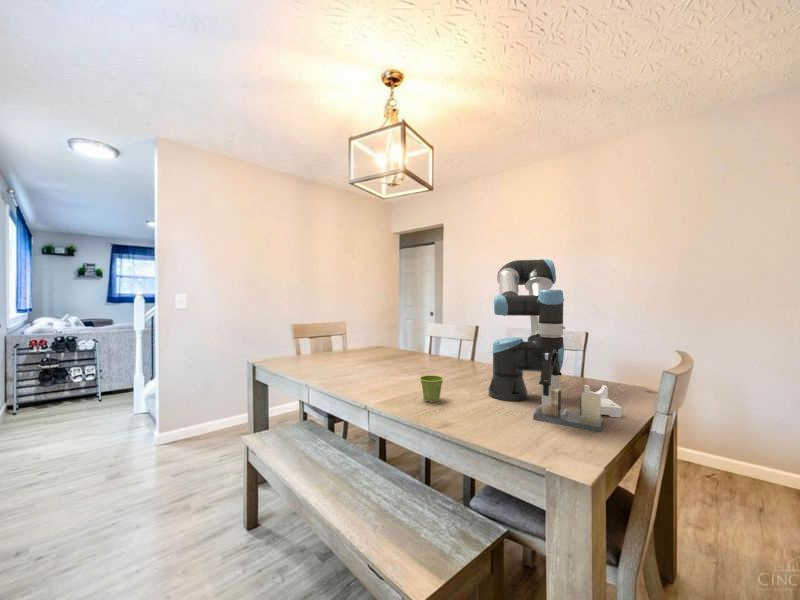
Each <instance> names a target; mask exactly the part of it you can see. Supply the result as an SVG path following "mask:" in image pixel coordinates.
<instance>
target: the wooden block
mask: <svg viewBox="0 0 800 600" xmlns="http://www.w3.org/2000/svg"><path fill="white" fill-rule="evenodd" d="M540 392H541V403H542V388H541V391H540ZM541 405H542V404H541ZM560 410H562V390H561V388H559V389H558V388H551V406H547V405H542V413H543V414H548V415H554V416H558V415H559V414H560Z"/></svg>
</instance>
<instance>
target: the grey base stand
mask: <svg viewBox="0 0 800 600" xmlns="http://www.w3.org/2000/svg"><path fill="white" fill-rule="evenodd" d="M532 420H534V421H540V422H544V421H545V422H546V423H549V422H550V423H551V424H555V425H561V426H566V427H569V428H570V427H571V428H577V429H582V430H586V431H591V432H596V433H597V432H598V433H601V430H602V427H603V422H604V419H603V416H602V414H601V394H594V393H587V392H584V391H582V393H580V396H579V412H574V411H570V410H568V409H567V408H564V409H561V410H560V414H559V415H558V416H554V415H548V414H543V413H542V404H538V406H537V408H536V409H535V412H534V413H533V414H532Z"/></svg>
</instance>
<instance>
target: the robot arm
mask: <svg viewBox="0 0 800 600" xmlns="http://www.w3.org/2000/svg"><path fill="white" fill-rule="evenodd" d="M496 277H497V278H496V280H497V283H498V284H499V287H498V289H499V294H498V295H495V296H494V297H493V313H494V314H495V315H496V316H503V317H506V316H509V317H510V316H512V317H513V316H515V317H516V316H521V317H522V316H525V317H526V316H527V317H528V316H529V319H530V332H531V333H530V336H528V337H527V341H524V339H523V337H517V336H516V337H504V338H500V339H496V340H495V341H493V343H492V376H491V380H490V383H489V386H488V396H490V397H491V396H492V397H491V398H493V397H494V399H496V398H497V399H496V400H500V399H501V400H503V401H507V402H508V401H510V402H511V401H512V402H517V401H518V402H519V401H523V400H527V399H528V393H529V392H528V389H527V387H526V383H525V380H524V376H523V375H524V372H537V373H538V372H539V373H540V379H539V380H540V381H538V384H539V385H541V389H542V402H541V405H547V406H551V388H558V389H560V376H562V375H563V374H562V372H561V371H562V367H563V363H564V357H565V344H564V337H563V336H564V330H566V327H565V326H564V301H565V299H564V291H563V290H561V289H552V288H553V285H555V284H556V281H557V275H556V267H555V263H554V262H553V261H552V260H551V259H547V258H546V259H544V258H540V259H515V260H511V261H510V262H507V263H505V264H504V265H503V266H502V267H501V268H499V270H498V272H497V275H496ZM519 286H524V288H525V289H526V291H528V295H527V294H526V295H525V294H524V295H523V294H521V295H520V291H519ZM501 400H500V401H501Z"/></svg>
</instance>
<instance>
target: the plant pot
mask: <svg viewBox="0 0 800 600" xmlns="http://www.w3.org/2000/svg"><path fill="white" fill-rule="evenodd" d="M419 380H420V383H421V388H422V395H423V401H425V400H426V401H425V402H427V401H428V402H430V401H437V402H439V401H440V399H441V389H442V384H443V381H444V380H445V378H444V377H443V376H441V375H434V374H433V375H431V374H429V375H426V374H425V375H421V376H420V377H419ZM438 400H439V401H438Z"/></svg>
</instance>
